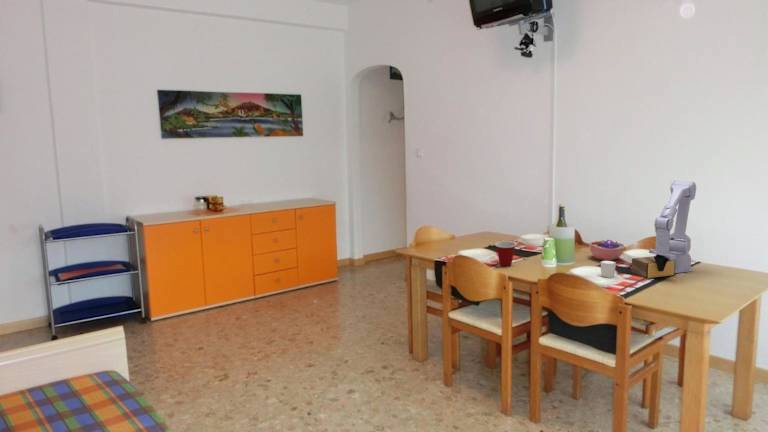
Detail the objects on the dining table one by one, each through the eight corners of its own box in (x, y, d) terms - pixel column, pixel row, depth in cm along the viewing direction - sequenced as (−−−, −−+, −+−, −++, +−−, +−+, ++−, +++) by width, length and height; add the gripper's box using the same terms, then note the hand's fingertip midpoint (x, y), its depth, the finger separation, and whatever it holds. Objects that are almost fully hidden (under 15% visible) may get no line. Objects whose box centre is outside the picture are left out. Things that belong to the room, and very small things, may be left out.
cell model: (616, 255, 300) (616, 235, 298) (628, 264, 280) (629, 242, 278) (584, 255, 301) (585, 235, 299) (595, 264, 282) (595, 243, 280)
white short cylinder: (606, 278, 255) (606, 264, 254) (596, 275, 261) (597, 261, 260) (618, 277, 257) (619, 263, 255) (608, 273, 263) (609, 259, 262)
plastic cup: (492, 267, 281) (492, 244, 279) (498, 262, 291) (498, 240, 289) (513, 269, 276) (513, 246, 274) (518, 264, 286) (518, 242, 284)
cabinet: (655, 269, 268) (656, 255, 267) (670, 274, 258) (671, 260, 257) (631, 272, 264) (632, 258, 263) (645, 277, 255) (646, 263, 254)
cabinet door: (673, 274, 258) (674, 261, 257) (675, 274, 257) (676, 261, 256) (647, 277, 254) (648, 263, 253) (649, 277, 253) (649, 264, 252)
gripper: (644, 240, 256) (642, 268, 258) (667, 246, 242) (665, 275, 245) (656, 239, 258) (654, 266, 260) (680, 245, 244) (678, 274, 246)
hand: (660, 271), depth 253 cm, fingers closed
